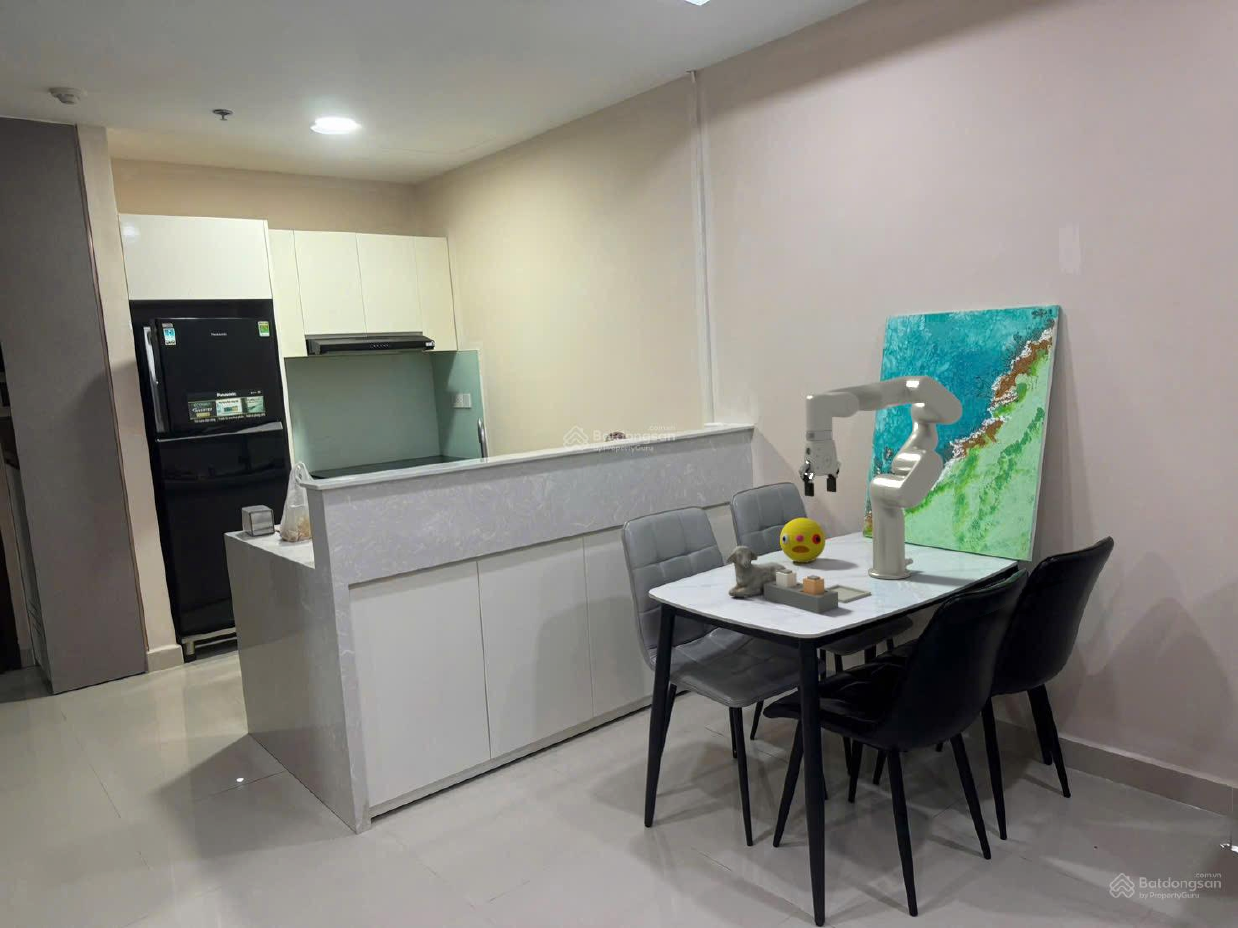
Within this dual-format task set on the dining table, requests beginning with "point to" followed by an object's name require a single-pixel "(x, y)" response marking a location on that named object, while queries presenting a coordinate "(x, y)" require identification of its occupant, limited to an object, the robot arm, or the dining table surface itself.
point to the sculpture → (751, 572)
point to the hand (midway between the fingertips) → (820, 493)
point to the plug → (813, 585)
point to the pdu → (798, 594)
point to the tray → (848, 593)
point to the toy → (802, 540)
